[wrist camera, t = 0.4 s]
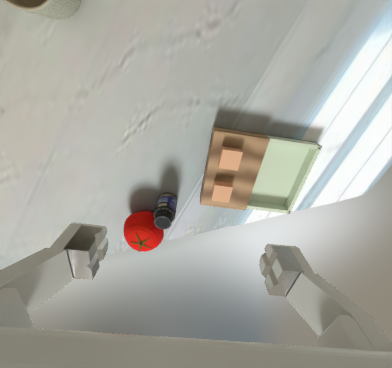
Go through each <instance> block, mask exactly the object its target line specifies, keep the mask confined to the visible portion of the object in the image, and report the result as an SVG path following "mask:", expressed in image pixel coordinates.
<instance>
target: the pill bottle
mask: <svg viewBox="0 0 392 368" xmlns="http://www.w3.org/2000/svg"><path fill="white" fill-rule="evenodd" d="M176 206H177V199H176V197H175V196H174V195H173V194H171V193H164V194H161V195H160V196H159V198H158V201H157V205H156V208H155V211H154V218H155V220H154V224H155V226H156V227H158V228H159V229H167V228H169V227H170V226H171V223H172V221H173V220H174V218H175V213H176Z"/></svg>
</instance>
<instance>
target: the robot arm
mask: <svg viewBox="0 0 392 368" xmlns="http://www.w3.org/2000/svg"><path fill="white" fill-rule="evenodd" d="M106 234H107V227H105V226H98V225H91V224H81V223H74V222H73V223H71V224H70V225H69V226H68V227H67V228H66V230H65V231H64V232H63V233H62V234H61V235H60V236H59V238H58V239H57V240H56V241H55V242H54V243H53V245H52V246H51V247H50V248H44V249H42V250H40V251H38V252H36V253H34V254H32V255H30V256H28V257H26V258H24V259H22V260H20V261H18V262H16V263H14V264H12V265H10V266H8V267H6V268H4V269H2V270H0V368H392V342H391V341H390V339H389V338H388V337H387V335H386V334H385V333H384V331H383V330H382V329H381V327H380V326H379V325H378V323H377V322H376V321H375V319H374V318H373V317H372V316H371V315H370V314H368V313H367V312H366V311H365V310H363V309H362V308H361V307H359V306H358V305H357V304H356V303H354V302H353V301H351V300H350V299H349V298H348V297H347V296H345V295H344V294H343V293H341V292H340V291H339V290H338V289H336V288H335V287H334V286H332V285H331V284H330V283H328V282H327V281H326V280H325V279H323V278H322V277H321V276H319V275H318V274H314V272H313V270H312V269H311V267H310V266H309V264H308V262H307V261H306V259H305V257H304V256H303V254H302V253H301V251H300V249H299V248H298V247H296V246H285V245H275V244H267V245H266V247H265V252H266V253H264V254H263V255H262V256H261V258H260V270H261V273H262V275H263V276H264V277H265V278H266V279H265V284H266V288H267V290H268V293H269V295H275V296H284V297H286V299H287V300H288V301H289V302H290V303H291V304H292V306H293V307H294V308H295V309H296V310H297V311H298V313H299V314H300V315H301V316H302V317H303V318H304V320H305V321H306V322H307V323H308V324H309V325H310V327H311V328H312V329H313V330H314V331H315V332H316V334H317V335H318V336H319V338H318V339H317V340H316V341H315V342H314V343H313V345H312V346H297V345H280V344H266V343H251V342H250V343H249V342H235V341H221V340H206V339H191V338H176V337H175V338H174V337H160V336H145V335H130V334H114V333H99V332H83V331H69V330H53V329H38V328H34V324H33V322H32V320H31V318H30V316H29V314H31V313H32V312H33V311H34V310H36V309H37V308H38V307H39V306H41V305H42V304H43V303H44V302H46V301H47V300H48V299H49V298H51V297H52V296H53V295H54V294H56V293H57V292H58V291H59V290H61V289H62V288H63V287H64V286H65V285H67V284H68V283H69V282H71V281H72V280H73V278H75V279H92V280H93V278H94V276H95V275H96V273H97V270H98V269H99V261H101V260H102V259H104V257H105V255H106V252H107V249H108V239H107V238H106V237H105V236H106Z"/></svg>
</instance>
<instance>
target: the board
mask: <svg viewBox="0 0 392 368" xmlns="http://www.w3.org/2000/svg"><path fill="white" fill-rule="evenodd" d="M269 140H270V139H269V138H268V137H266V136H265V135H263V134H257V133H250V132H244V131H237V130H231V129H224V128H218V127H213V130H212V135H211V141H210V146H209V151H208V156H207V162H206V167H205V172H204V177H203V183H202V188H201V193H200V205H208V206H216V207H225V208H233V209H241V210H246V208H247V205H248V202H249V199H250V196H251V193H252V190H253V187H254V184H255V181H256V178H257V175H258V173H259V170H260V167H261V164H262V161H263V158H264V155H265V152H266V149H267V146H268V143H269ZM222 146H224V147H231V148H237V149H241V150H242V152H243V154H242V158H241V161H240V165H239V168H238V171H236V170H229V169H221V168H218V160H219V156H220V151H221V147H222ZM214 181H220V182H227V183H232V186H233V190H232V193H231V197H230V200H229V203H227V202H219V201H211V192H212V187H213V183H214Z"/></svg>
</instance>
